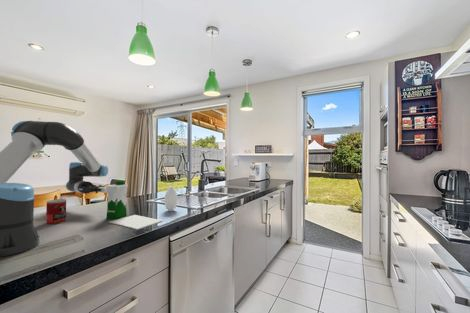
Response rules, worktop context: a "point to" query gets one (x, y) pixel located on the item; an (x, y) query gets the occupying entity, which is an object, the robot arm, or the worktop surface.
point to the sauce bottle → (171, 199)
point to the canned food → (56, 211)
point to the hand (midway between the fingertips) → (106, 190)
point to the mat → (135, 222)
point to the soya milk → (116, 200)
